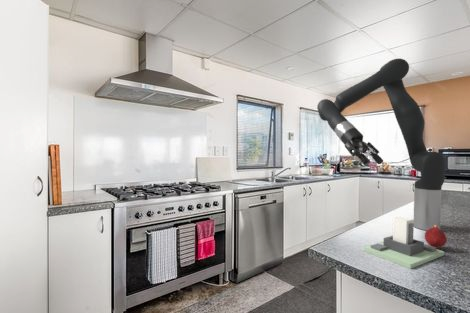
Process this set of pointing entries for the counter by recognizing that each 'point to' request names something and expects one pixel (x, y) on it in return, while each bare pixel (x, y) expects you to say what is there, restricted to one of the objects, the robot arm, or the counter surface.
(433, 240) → the onion
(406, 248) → the board
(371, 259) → the counter surface
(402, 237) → the plug
